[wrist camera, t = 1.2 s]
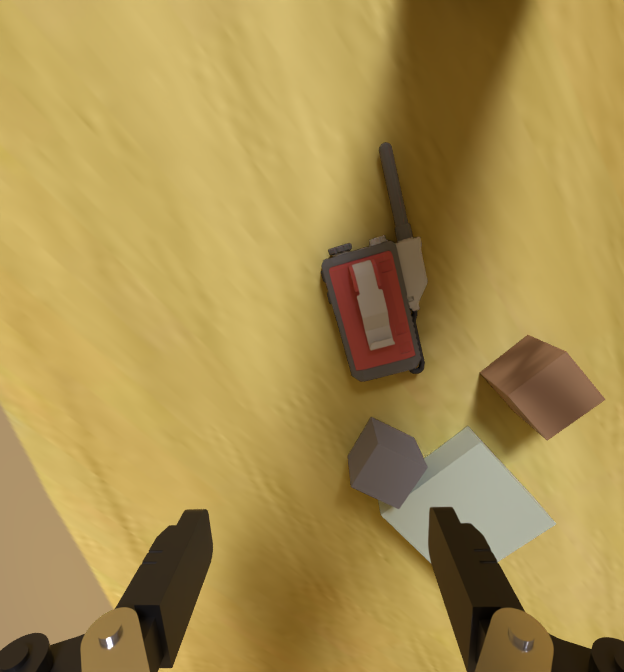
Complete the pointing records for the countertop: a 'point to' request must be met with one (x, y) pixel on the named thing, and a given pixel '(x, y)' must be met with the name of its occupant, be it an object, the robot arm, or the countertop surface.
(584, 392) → the walnut cube
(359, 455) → the charcoal block
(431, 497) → the pedestal
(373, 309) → the walkie-talkie
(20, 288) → the countertop surface
